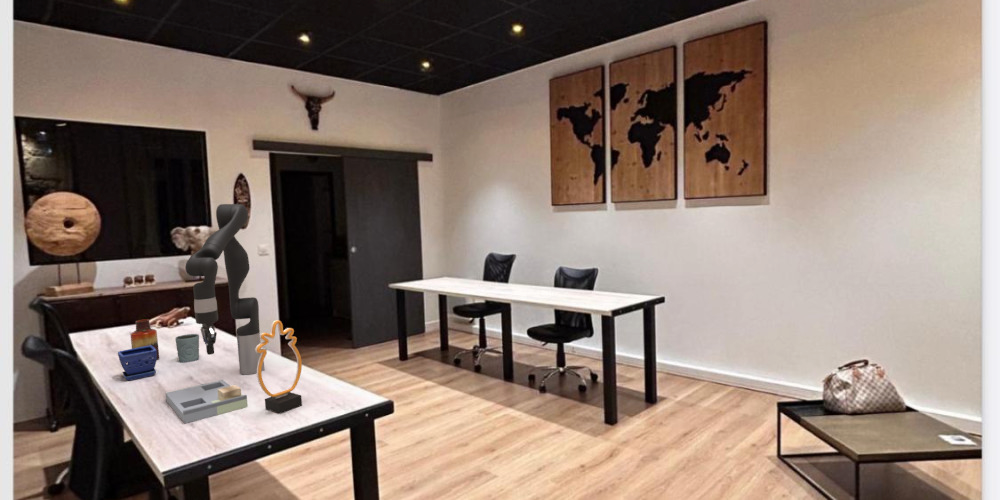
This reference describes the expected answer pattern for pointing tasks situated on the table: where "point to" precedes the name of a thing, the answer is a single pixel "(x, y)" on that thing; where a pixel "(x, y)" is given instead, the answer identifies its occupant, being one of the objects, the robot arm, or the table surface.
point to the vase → (144, 336)
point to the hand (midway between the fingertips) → (210, 353)
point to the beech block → (229, 392)
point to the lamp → (285, 398)
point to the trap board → (203, 401)
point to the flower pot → (138, 368)
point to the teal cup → (187, 347)
